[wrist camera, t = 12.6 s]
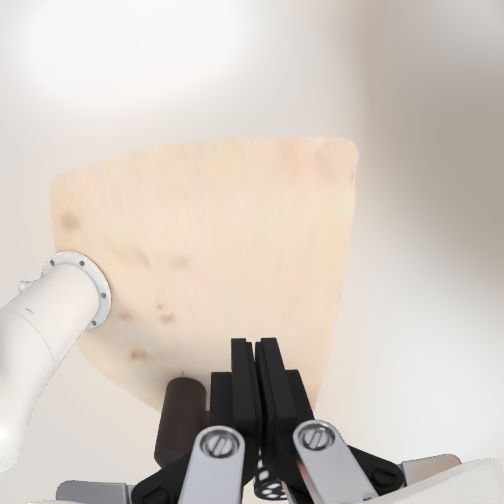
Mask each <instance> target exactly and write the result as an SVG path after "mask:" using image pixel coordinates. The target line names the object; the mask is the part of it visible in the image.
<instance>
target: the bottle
mask: <svg viewBox="0 0 504 504" xmlns="http://www.w3.org/2000/svg"><path fill="white" fill-rule="evenodd" d="M205 409H206V391H205V388H204V387H203V385H202V384H200V383H199V382H198V381H195V380H193V379H189V378H178V379H174V380H173V381H171V382H170V383H169V384H168V386H167V390H166V394H165V399H164V404H163V409H162V414H161V420H160V424H159V430H158V435H157V440H156V446H155V452H154V459H155V460H156V462H157V463H158V464H159V466H160V467H161V468H162V469H163V468H165V467H166V466H168V465H170V464H171V463H173V462H175V461H176V460H178V459H179V458H181V457H182V456H184V455H185V454H187V453H189V452H190V451H192V450H193V446H194V442H195V439H196V437H197V435H198V434H199V433H200V432H201V431H202V430H204V429H205ZM162 469H160V470H162ZM160 470H159V471H160Z"/></svg>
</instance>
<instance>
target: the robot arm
mask: <svg viewBox="0 0 504 504" xmlns="http://www.w3.org/2000/svg"><path fill="white" fill-rule="evenodd" d="M18 288H19V291H20V294H19V295H18V296H17V297H15V298H14V299H13V300H12V301H10V302H9V303H8V304H7V305H6V306H4V307H3V308H2V309H1V310H0V473H3V472H5V471H7V470H9V469H10V468H11V467H12V466H13V465H14V463H15V462H16V460H17V459H18V457H19V455H20V452H21V450H22V446H23V443H24V439H25V436H26V432H27V428H28V425H29V421H30V418H31V415H32V413H33V410H34V408H35V405H36V403H37V401H38V399H39V397H40V395H41V394H42V392H43V390H44V389H45V387H46V386H47V384H48V382H49V381H50V379H51V377H52V376H53V375H54V373H55V371H56V370H57V368H58V367H59V365H60V364H61V362H62V361H63V360H64V358H65V357H66V355H67V354H68V352H69V351H70V349H71V348H72V346H73V345H74V344H75V342H76V341H77V339H78V338H79V337H80V335H81V334H82V333H83V331H84V330H89V329H94V328H96V327H98V326H99V325H100V324H102V323H103V321H104V320H105V319H106V317H107V315H108V313H109V311H110V307H111V293H110V289H109V286H108V283H107V281H106V279H105V276H104V275H103V273H102V272H101V270H100V269H99V268H98V267H97V266H96V264H95V263H94V262H92V261H91V260H90V259H89V258H87V257H85V256H84V255H82V254H79V253H77V252H72V251H64V252H60V253H57V254H55V255H54V256H52V257H51V258H50V259H49V260H48V261H47V262H46V264H45V265H44V267H43V270H42V274H41V278H40V279H38V280H35V281H33V282H27V281H21V282H20V283H19V287H18ZM231 369H232V372H212V373H211V394H210V423H209V427H208V428H206V429H204V430H202V431H201V432H200V433H199V434H198V435H197V437H196V439H195V442H194V446H193V450H192V451H190V452H189V453H187V454H185V455H184V456H182V457H181V458H179V459H178V460H176V461H175V462H173V463H171V464H170V465H168V466H166V467H165V468H163V469H162V470H160V471H158V472H157V473H155V474H153V475H151V476H150V477H148V478H146V479H144V480H143V481H141V482H139V483H138V484H137V485H126V484H125V483H103V482H86V481H74V480H72V481H65V482H63V483H61V484H60V485H59V487H58V488H57V491H56V500H43V501H35V502H31V503H29V504H242V499H243V490H244V486H245V485H246V484H247V483H248V482H249V481H251V480H252V479H253V478H254V473H255V466H258V462H259V452H260V453H261V460H262V466H268V470H269V473H273V476H274V477H276V478H277V479H279V480H281V482H282V486H283V489H284V491H285V494H286V496H287V499H288V501H289V504H504V461H503V460H499V459H481V460H480V459H479V460H474V461H470V462H466V463H463V464H462V463H461V461H460V459H459V458H458V457H456V456H455V455H452V454H443V455H438V456H433V457H428V458H423V459H417V460H410V461H403V462H402V463H401V464H398V465H396V464H394V463H392V462H390V461H387V460H385V459H382V458H379V457H376V456H374V455H371V454H369V453H366V452H364V451H361V450H359V449H357V448H354V447H352V446H349V445H347V444H346V443H345V442H344V440H343V439H342V436H341V435H340V433H339V432H338V430H337V429H336V428H335V427H334V426H333V425H332V424H330V423H328V422H325V421H322V420H315V418H314V415H313V412H312V409H311V406H310V403H309V400H308V397H307V394H306V391H305V388H304V386H303V383H302V380H301V377H300V374H299V371H298V370H297V369H295V370H285V368H284V365H283V361H282V357H281V354H280V350H279V347H278V343H277V339H276V338H261V342H256V343H255V362H254V356H253V349H252V342H246V338H231Z"/></svg>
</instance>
